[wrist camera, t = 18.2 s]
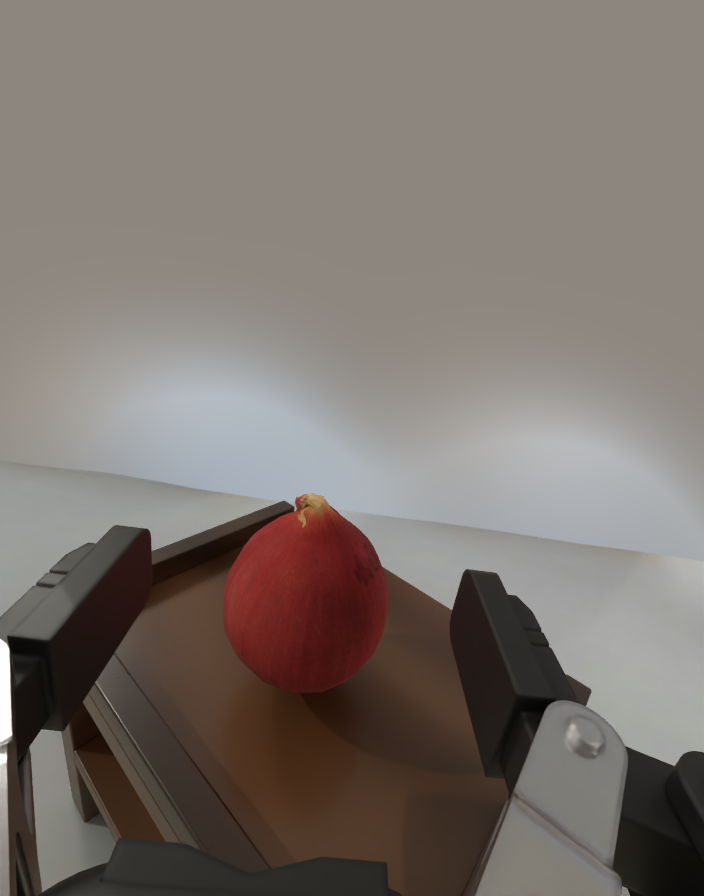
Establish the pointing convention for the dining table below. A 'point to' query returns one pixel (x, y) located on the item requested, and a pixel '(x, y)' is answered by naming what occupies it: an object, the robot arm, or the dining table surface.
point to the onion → (306, 599)
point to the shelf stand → (285, 738)
